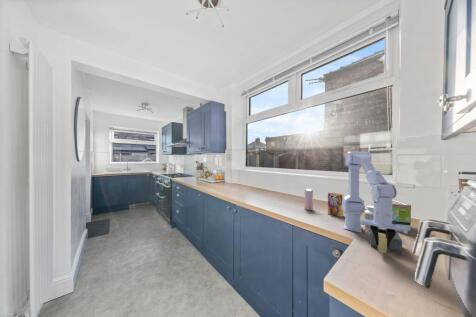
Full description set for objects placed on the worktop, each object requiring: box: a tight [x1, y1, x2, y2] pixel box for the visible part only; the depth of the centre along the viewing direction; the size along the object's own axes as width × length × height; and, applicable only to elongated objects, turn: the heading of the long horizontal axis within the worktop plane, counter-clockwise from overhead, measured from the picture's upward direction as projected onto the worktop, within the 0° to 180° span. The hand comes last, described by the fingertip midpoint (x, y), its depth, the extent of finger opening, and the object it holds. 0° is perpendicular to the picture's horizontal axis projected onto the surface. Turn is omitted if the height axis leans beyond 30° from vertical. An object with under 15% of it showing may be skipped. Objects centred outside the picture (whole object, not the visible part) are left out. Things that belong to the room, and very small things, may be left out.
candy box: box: [327, 191, 344, 218], centre depth 116 cm, size 9×4×15 cm, turn 47°
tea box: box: [392, 198, 412, 232], centre depth 99 cm, size 15×10×15 cm, turn 168°
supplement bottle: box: [364, 205, 374, 231], centre depth 93 cm, size 7×7×13 cm
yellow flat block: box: [376, 233, 388, 254], centre depth 69 cm, size 5×2×6 cm, turn 145°
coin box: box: [369, 228, 403, 255], centre depth 76 cm, size 10×10×6 cm
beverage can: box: [304, 188, 314, 211], centre depth 128 cm, size 6×6×15 cm
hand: (381, 245), depth 69 cm, fingers closed on yellow flat block, 2 cm apart
